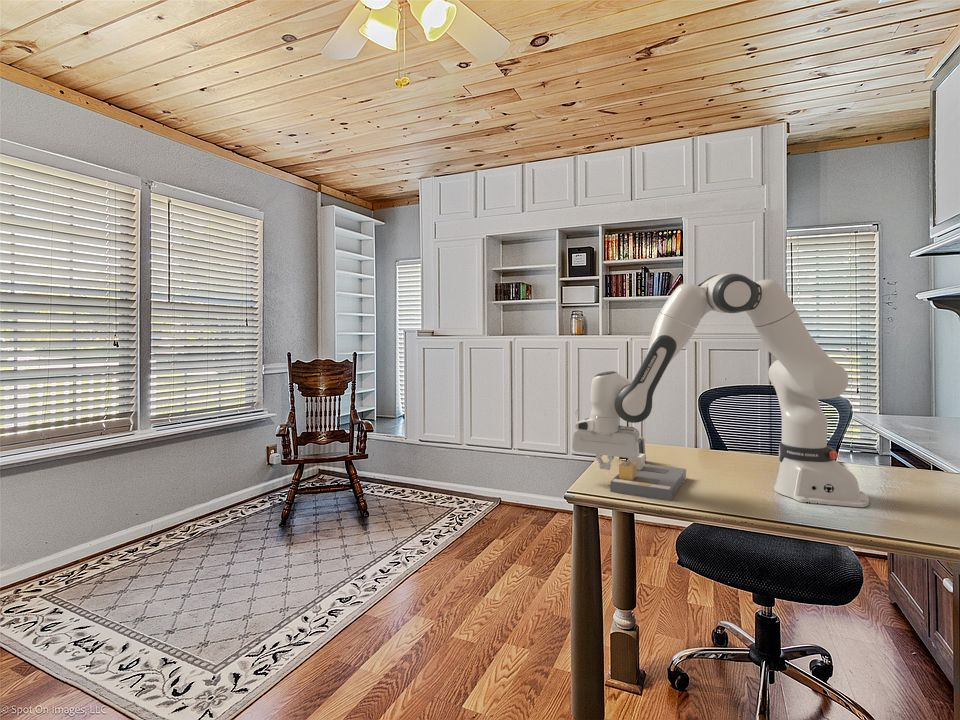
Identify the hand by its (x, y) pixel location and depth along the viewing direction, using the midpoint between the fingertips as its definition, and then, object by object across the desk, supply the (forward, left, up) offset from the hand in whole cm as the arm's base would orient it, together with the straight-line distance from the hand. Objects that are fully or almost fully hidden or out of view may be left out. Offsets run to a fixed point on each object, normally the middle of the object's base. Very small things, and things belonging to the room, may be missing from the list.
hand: (604, 468), depth 161 cm
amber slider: (-7, 0, -2) cm, 7 cm away
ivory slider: (-7, -12, -2) cm, 14 cm away
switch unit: (-12, -6, -5) cm, 14 cm away
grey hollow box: (0, -31, -5) cm, 31 cm away
